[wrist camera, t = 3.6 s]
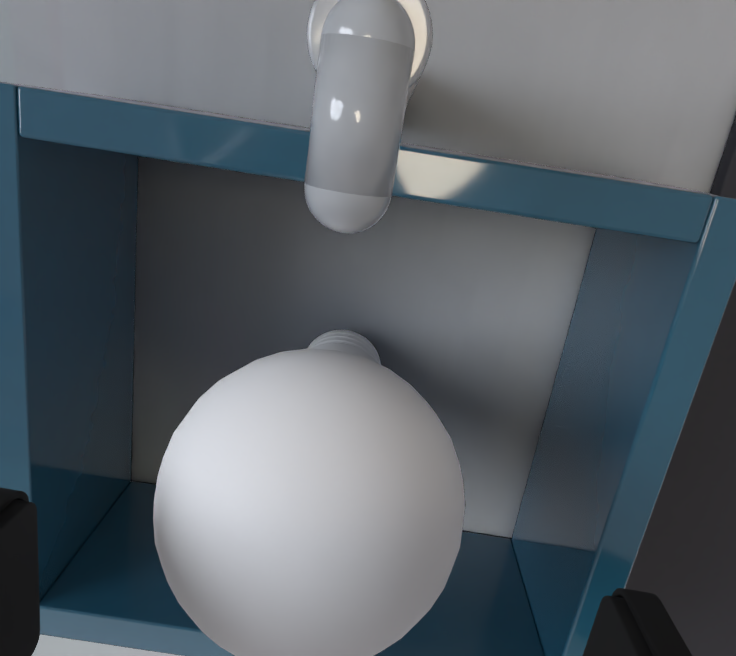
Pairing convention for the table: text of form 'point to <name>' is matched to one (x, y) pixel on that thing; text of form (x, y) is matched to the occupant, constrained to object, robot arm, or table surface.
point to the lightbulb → (309, 504)
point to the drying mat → (700, 496)
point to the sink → (344, 215)
